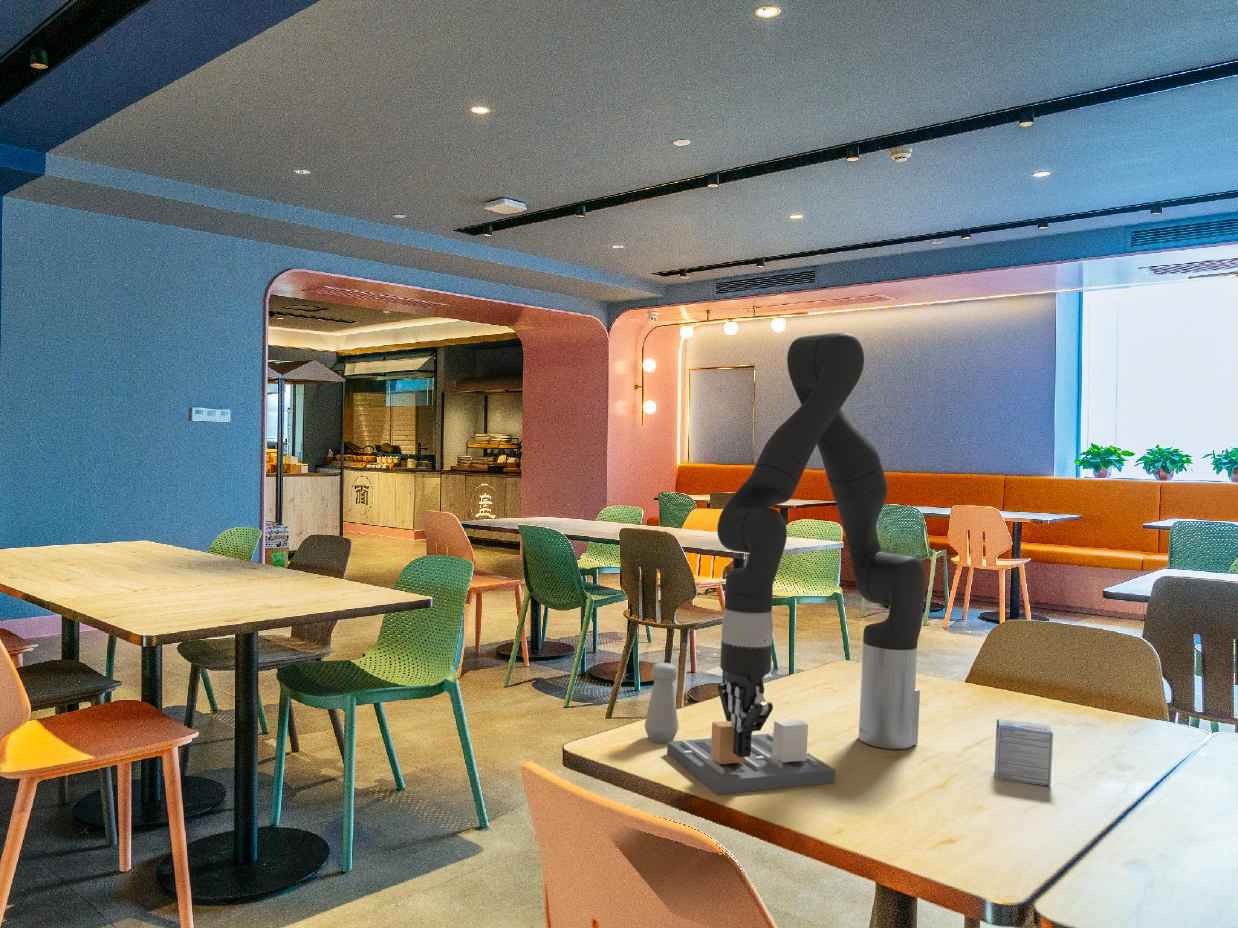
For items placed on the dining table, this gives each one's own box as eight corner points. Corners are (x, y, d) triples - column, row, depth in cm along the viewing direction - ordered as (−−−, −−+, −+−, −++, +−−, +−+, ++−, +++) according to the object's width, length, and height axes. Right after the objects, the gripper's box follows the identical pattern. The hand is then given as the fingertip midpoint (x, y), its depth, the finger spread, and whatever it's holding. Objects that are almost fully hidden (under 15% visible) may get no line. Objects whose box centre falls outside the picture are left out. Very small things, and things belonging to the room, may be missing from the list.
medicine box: (1047, 778, 141) (1049, 724, 140) (1051, 787, 136) (1053, 732, 136) (993, 770, 143) (996, 717, 143) (995, 779, 139) (998, 724, 139)
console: (773, 744, 151) (774, 729, 151) (834, 782, 134) (835, 765, 134) (667, 753, 144) (667, 737, 144) (717, 794, 127) (718, 776, 127)
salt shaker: (675, 746, 148) (678, 669, 148) (641, 742, 149) (645, 666, 149) (679, 736, 153) (683, 661, 153) (647, 732, 155) (650, 658, 155)
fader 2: (796, 754, 139) (798, 718, 139) (806, 760, 137) (808, 724, 137) (772, 756, 138) (774, 720, 138) (781, 762, 135) (783, 726, 135)
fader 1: (735, 755, 137) (737, 719, 137) (744, 761, 135) (746, 725, 135) (710, 758, 136) (712, 721, 136) (719, 764, 133) (720, 727, 133)
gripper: (792, 648, 127) (787, 768, 127) (746, 630, 139) (741, 739, 139) (746, 650, 124) (741, 772, 124) (704, 631, 136) (699, 743, 136)
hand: (741, 755), depth 131 cm, fingers closed
